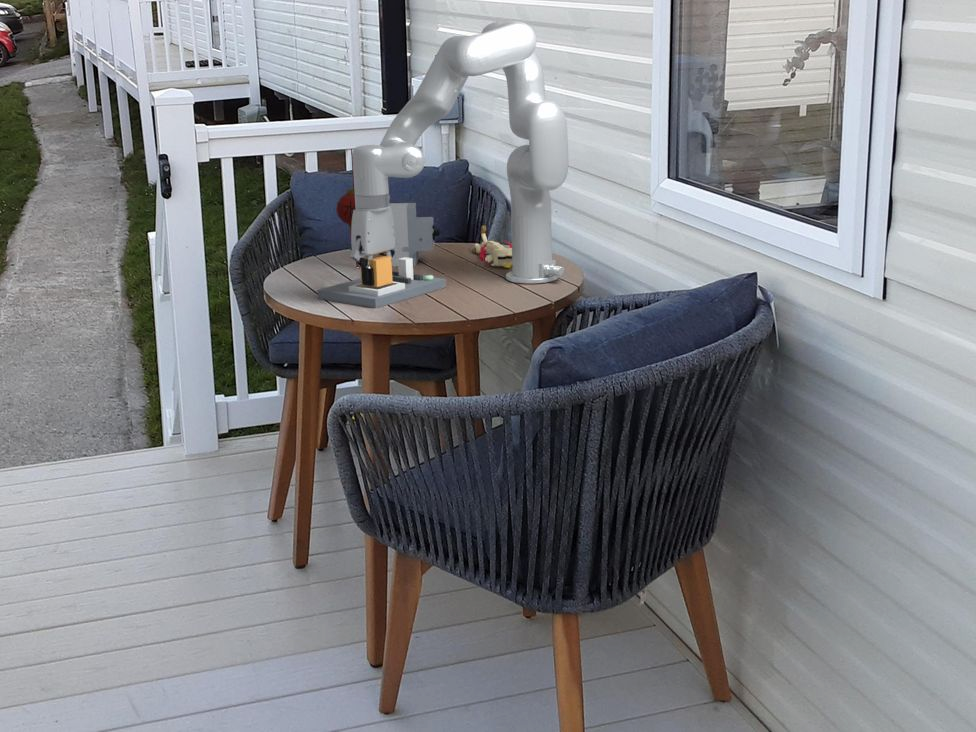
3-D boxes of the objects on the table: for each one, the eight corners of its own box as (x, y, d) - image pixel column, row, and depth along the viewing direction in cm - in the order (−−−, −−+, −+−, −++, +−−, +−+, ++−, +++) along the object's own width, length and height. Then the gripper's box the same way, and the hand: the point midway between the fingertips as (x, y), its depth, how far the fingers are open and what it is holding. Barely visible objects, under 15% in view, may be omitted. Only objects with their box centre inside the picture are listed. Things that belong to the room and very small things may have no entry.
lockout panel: (445, 287, 274) (445, 273, 273) (375, 308, 256) (374, 293, 255) (389, 278, 285) (388, 266, 284) (317, 298, 266) (317, 284, 266)
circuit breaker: (439, 265, 299) (437, 206, 295) (384, 266, 299) (381, 208, 295) (441, 259, 306) (439, 202, 302) (387, 260, 307) (384, 203, 302)
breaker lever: (413, 279, 273) (412, 258, 272) (406, 281, 271) (405, 259, 270) (405, 278, 274) (404, 257, 273) (398, 280, 273) (397, 258, 271)
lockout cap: (392, 282, 264) (391, 256, 262) (377, 287, 260) (375, 260, 259) (376, 280, 267) (374, 254, 265) (361, 284, 263) (359, 258, 262)
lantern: (371, 271, 293) (364, 151, 285) (335, 271, 295) (327, 151, 286) (381, 264, 302) (375, 146, 294) (346, 263, 304) (338, 147, 295)
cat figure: (465, 259, 313) (489, 269, 290) (463, 226, 311) (488, 234, 288) (501, 256, 316) (528, 266, 292) (499, 223, 314) (526, 231, 290)
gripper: (385, 196, 267) (390, 274, 272) (332, 206, 254) (338, 288, 259) (410, 198, 263) (414, 277, 268) (357, 208, 250) (362, 292, 255)
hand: (376, 281), depth 264 cm, fingers closed on lockout cap, 4 cm apart
